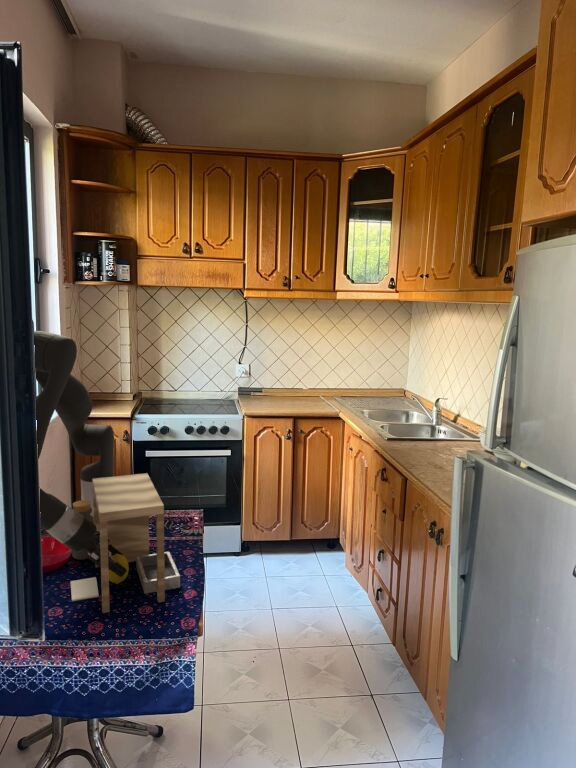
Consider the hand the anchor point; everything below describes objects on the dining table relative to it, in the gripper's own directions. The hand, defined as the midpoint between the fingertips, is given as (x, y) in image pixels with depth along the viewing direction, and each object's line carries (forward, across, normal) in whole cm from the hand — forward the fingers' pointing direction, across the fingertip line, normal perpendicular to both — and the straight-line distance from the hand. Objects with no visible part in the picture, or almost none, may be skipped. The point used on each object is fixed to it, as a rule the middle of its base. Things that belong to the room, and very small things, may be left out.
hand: (122, 565), depth 138 cm
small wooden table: (+4, 0, +2) cm, 5 cm away
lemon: (+3, 0, +4) cm, 5 cm away
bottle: (-2, +19, +9) cm, 21 cm away
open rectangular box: (+10, 0, -3) cm, 10 cm away
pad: (-3, 0, +10) cm, 10 cm away
